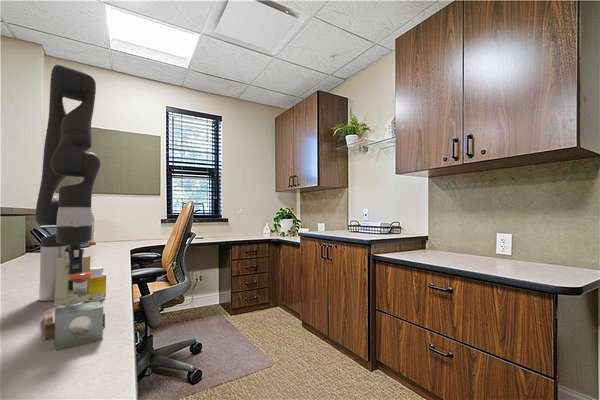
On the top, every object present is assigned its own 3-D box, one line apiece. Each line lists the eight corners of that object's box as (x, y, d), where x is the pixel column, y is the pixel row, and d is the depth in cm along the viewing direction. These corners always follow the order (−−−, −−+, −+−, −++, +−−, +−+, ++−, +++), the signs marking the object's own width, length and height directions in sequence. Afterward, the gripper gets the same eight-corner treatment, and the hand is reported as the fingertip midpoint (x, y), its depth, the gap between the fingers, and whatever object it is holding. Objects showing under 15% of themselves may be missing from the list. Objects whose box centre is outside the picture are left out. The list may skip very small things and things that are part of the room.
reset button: (67, 292, 64) (68, 274, 64) (89, 289, 66) (90, 271, 67) (68, 296, 61) (69, 277, 61) (92, 292, 63) (92, 274, 64)
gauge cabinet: (53, 341, 63) (55, 308, 63) (98, 331, 68) (99, 300, 68) (55, 351, 58) (56, 316, 58) (102, 339, 63) (103, 307, 64)
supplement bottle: (108, 299, 94) (109, 267, 94) (87, 303, 89) (88, 270, 90) (102, 296, 97) (102, 265, 98) (82, 300, 93) (83, 268, 93)
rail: (44, 319, 76) (44, 307, 76) (94, 309, 83) (95, 299, 84) (44, 340, 63) (45, 326, 63) (104, 326, 70) (105, 314, 71)
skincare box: (67, 307, 73) (68, 258, 73) (53, 306, 74) (54, 258, 74) (90, 300, 79) (91, 255, 80) (77, 299, 80) (78, 255, 81)
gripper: (55, 224, 80) (53, 284, 79) (57, 225, 70) (55, 295, 69) (88, 223, 85) (87, 280, 84) (95, 224, 75) (93, 289, 74)
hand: (73, 286), depth 77 cm, fingers closed on skincare box, 7 cm apart
